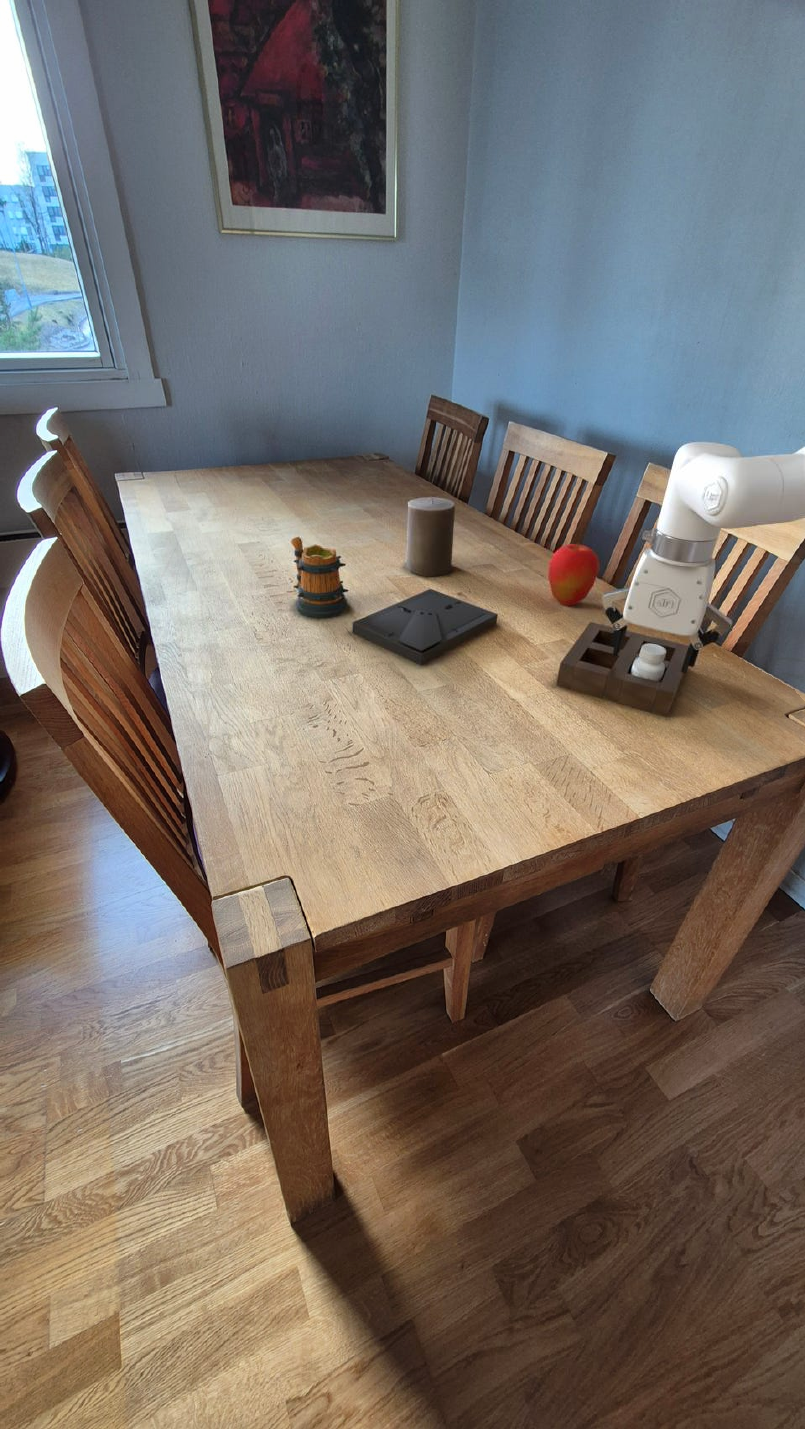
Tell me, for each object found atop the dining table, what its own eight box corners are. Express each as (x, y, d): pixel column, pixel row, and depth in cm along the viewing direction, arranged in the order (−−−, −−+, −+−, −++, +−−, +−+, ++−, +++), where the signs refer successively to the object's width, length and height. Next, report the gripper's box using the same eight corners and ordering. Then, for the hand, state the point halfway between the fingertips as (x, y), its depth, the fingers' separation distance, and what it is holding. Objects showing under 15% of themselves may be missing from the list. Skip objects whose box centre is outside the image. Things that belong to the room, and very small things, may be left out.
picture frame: (420, 665, 100) (496, 624, 112) (421, 649, 98) (498, 610, 111) (352, 633, 108) (429, 598, 121) (352, 618, 107) (430, 585, 119)
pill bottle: (647, 685, 96) (660, 640, 92) (661, 701, 93) (675, 655, 89) (620, 687, 96) (632, 642, 91) (633, 702, 92) (646, 656, 88)
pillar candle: (452, 577, 130) (457, 504, 122) (405, 575, 130) (407, 502, 122) (450, 560, 138) (455, 491, 130) (406, 559, 138) (408, 489, 130)
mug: (360, 608, 117) (359, 548, 110) (316, 624, 111) (312, 561, 104) (318, 587, 124) (315, 529, 118) (275, 600, 118) (269, 541, 112)
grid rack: (685, 668, 101) (692, 646, 99) (666, 717, 89) (674, 693, 87) (585, 642, 108) (590, 621, 105) (556, 685, 96) (560, 662, 93)
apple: (596, 613, 118) (609, 551, 111) (548, 611, 118) (559, 549, 111) (585, 593, 125) (597, 534, 118) (540, 591, 125) (549, 532, 118)
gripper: (609, 541, 82) (584, 655, 92) (752, 568, 76) (709, 688, 85) (622, 526, 88) (598, 635, 97) (757, 550, 81) (716, 665, 91)
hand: (650, 660), depth 91 cm, fingers open, 9 cm apart
